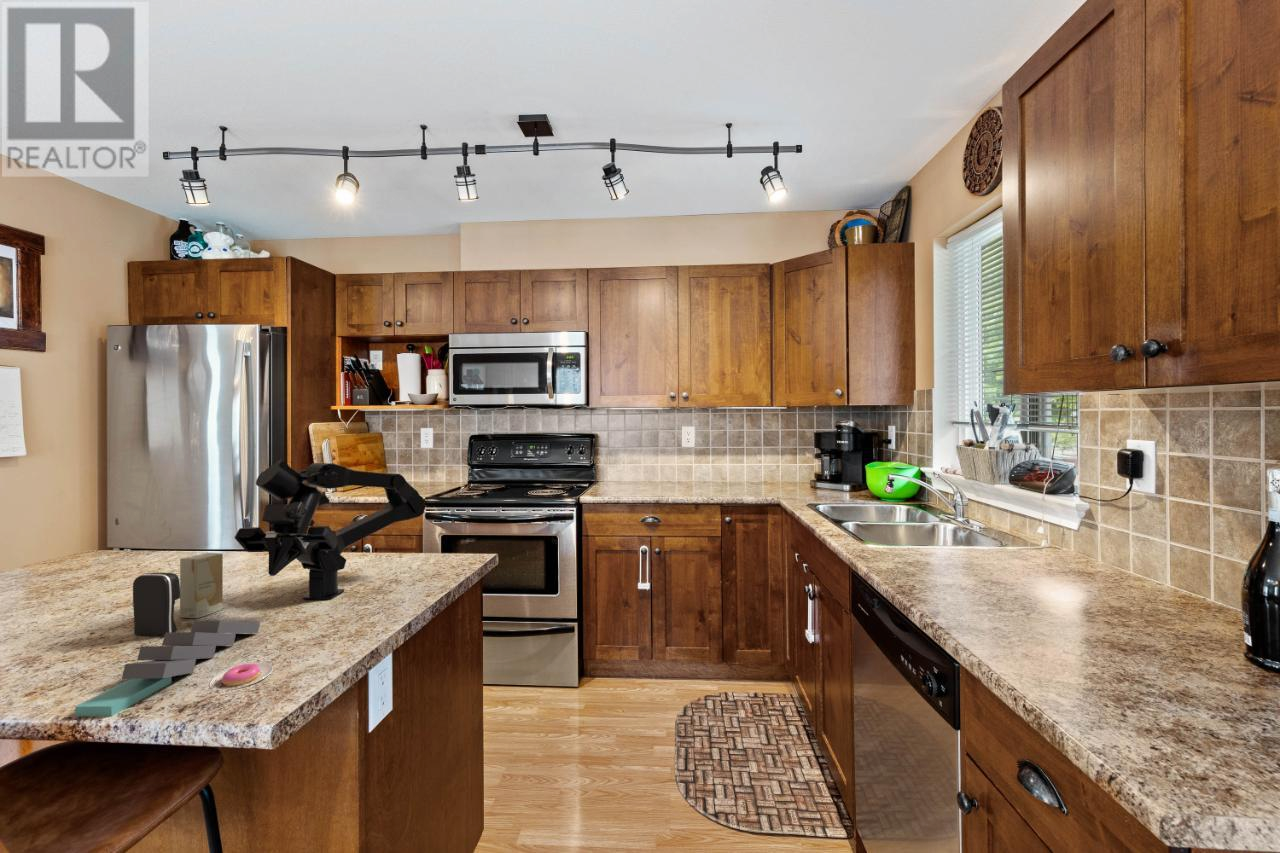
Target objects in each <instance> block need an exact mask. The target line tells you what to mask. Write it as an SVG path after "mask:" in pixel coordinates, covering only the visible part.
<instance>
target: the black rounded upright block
mask: <svg viewBox="0 0 1280 853" xmlns="http://www.w3.org/2000/svg"><path fill="white" fill-rule="evenodd" d="M178 599H179V600H180V577H179V576H178V575H177V574H176V573H173V572H150V573H146V574H142V575H138V576H137V577H135V578H134V580H133V583H132V605H133V607H132V609H133V628H134V631H133V635H135V636H147V635H157V637H158V636H160V637H161V636H165V633H176V631H177V630H178V628H177V627H178V626H177V625H176V622H175V616H174V614H175V604H176V601H177V600H178Z"/></svg>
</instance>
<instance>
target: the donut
mask: <svg viewBox="0 0 1280 853" xmlns="http://www.w3.org/2000/svg"><path fill="white" fill-rule="evenodd" d="M273 670H274V666H273V665H272V664H270V663H268V662H251V663H246V664H240V665H236V666H234V667H232V668H229V669H227V670H225V671H223V672H221V673H219V674H217V675H216V676H214V677H213V679H211V681H210V682H209V685H208V686H209V688H210V687H211V686H212V685H211V683H212V684H213V683H215V682H216V681H217V680H219V679H221V681H222V682H221V683H222V684H223V685H224V686H226V685H227V687H235V688H233V690H238V688H239V689H243V688H245V687H246V688H247V687H249V686H252V685H253V684H256V683H259V682H261V681H262V680H264V679H265V678H267V677H268V676H269V675H270V674H271V673H272V672H273ZM260 672H262V673H261V674H263V675H264V676H263V677H262V678H261V677H260V678H261V679H260V678H259V679H260V680H259V679H258V680H256V679H257V678H258V677H259V676H260V675H259V674H260ZM222 676H223V677H222ZM220 677H221V678H220ZM218 678H219V679H218ZM216 679H217V680H216ZM215 680H216V681H215ZM254 680H256V681H254ZM253 681H254V682H253ZM248 682H249V684H248ZM251 682H252V683H251ZM245 683H246V684H245ZM241 684H243V685H242V686H241ZM210 685H211V686H210ZM235 685H238V686H240V687H236V686H235ZM242 687H243V688H242ZM230 689H231V688H227V689H226V691H231V690H230Z"/></svg>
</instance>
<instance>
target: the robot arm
mask: <svg viewBox="0 0 1280 853" xmlns="http://www.w3.org/2000/svg"><path fill="white" fill-rule="evenodd" d="M255 484H256V485H255V486H257V487H258V488H260V489H261V490H263V491H265V492H266V493H268V494H270V495H271V496H272V497H274V498H275V499H277V500H278V501H283V500H288V502H287V504H284V503H283V504H282V503H281V504H265V505H264V509H263V513H262V517H261V521H262V522H266V523H268V524H269V526H268V527H269V528H270V530H271V531H269V530H268V531H266V532H264V531H263V529H262V528H261V527H260V526H256V527H255V526H251V527H249V526H248V527H247V526H246V527H240V528H239V529H238V530H237V531H236V534H235V535H234V539H235V540H236V542H238V544H239V545H240V546H241V547H242V548H243V550H245V551H246V552H248V553H263V552H264V551H266V550H267V551H268V569H267V572H268V575H269V576H270V577H275V576H276V575H277V574H280V572H281V571H282V570H284V569H285V568H286V567H287V566H288V565H290V564H291V563H293V561H295V560H297V561H298V562H300V564H301V566H302V569H304V570H309V572H308V594H306V595H304V596H302V600H332V599H333V598H336V597H338V596H339V595H341V594H342V593H344V592H345V589H344V588H339V574H338V573H339V571H341V570H344V569H345V566H346V563H347V558H345V557H344V556H342V555H341V554H343V552H344V551H345V549H346V548H348V546H351V545H354V544H355V543H357V542H359V541H361V540H363V539H365V538H367V537H368V536H371V535H373V534H375V533H377V532H378V531H380V530H383V529H385V528H386V527H388V526H391V525H392V524H395V523H398V522H403V521H404V522H405V521H410V520H413V519H416V518H419V517H421V516H423V515H424V514H425V510H426V501H425V498H423V496H421V495H420V493H419V491H417V489H415V488H414V487H413V486H412V485H411V484H410V483H409V482H408V481H407V480H406V478H405V477H404V476H403V475H402V474H401V473H394V472H387V473H384V472H373V471H363V470H354V469H350V468H348V467H346V466H343V465H339V464H336V463H333V462H332V463H330V462H329V463H327V462H313V463H312V462H311V464H310V465H308V467H307V468H306V469H304V470H301V471H296V470H295V469H293V468H292V467H291V466H290V465H289V464H288V463H287V462H285V461H284V460H277V461H276V462H275V463H274V464H272V465H270V466H268V467H267V468H266V469H265V470H264V471H261V472H260V473H259V475H258V476H257V478H256V481H255ZM306 484H307V485H306ZM350 486H356V487H357V486H358V487H372V488H373V487H374V488H383V489H384V491H385V496H386V500H387V501H388V502H387V503H386V504H385V506H384V507H383V508H381V509H379V510H377V511H375V512H373V513H370V514H369V515H368V514H367V516H365V517H362V518H360V519H358V520H355V521H354V522H352V523H349V524H348V525H345V526H343V527H341V528H338V529H337V530H333V529H331V527H330V525H315V521H314V520H313V518H314V517H315V516H314V515H315V513H316V511H317V509H318V507H320V506H321V507H322V506H323V505H326V504H329V503H330V499H329V497H328V496H327V495H326V492H321V491H319V490H318V489H337V488H345V487H350ZM317 488H318V489H317Z"/></svg>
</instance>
